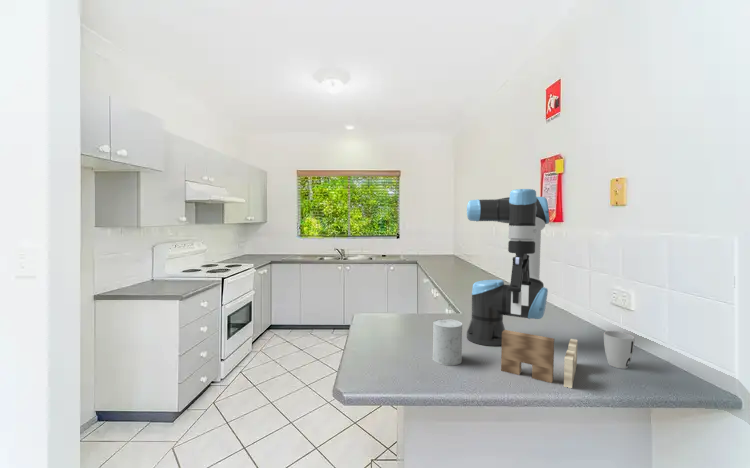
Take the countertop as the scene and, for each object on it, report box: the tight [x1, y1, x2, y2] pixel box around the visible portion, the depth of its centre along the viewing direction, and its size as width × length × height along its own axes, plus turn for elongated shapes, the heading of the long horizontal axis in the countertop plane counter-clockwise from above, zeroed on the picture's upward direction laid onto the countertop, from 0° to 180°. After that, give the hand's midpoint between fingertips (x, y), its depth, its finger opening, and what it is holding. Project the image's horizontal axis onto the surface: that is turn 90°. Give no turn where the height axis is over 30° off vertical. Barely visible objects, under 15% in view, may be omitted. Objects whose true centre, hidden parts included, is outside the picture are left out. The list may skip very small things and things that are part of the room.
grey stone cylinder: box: [432, 318, 463, 366], centre depth 113 cm, size 10×10×12 cm
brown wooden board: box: [500, 329, 555, 384], centre depth 102 cm, size 14×3×12 cm, turn 56°
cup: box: [603, 330, 636, 370], centre depth 110 cm, size 8×8×10 cm
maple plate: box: [563, 338, 578, 389], centre depth 102 cm, size 20×2×8 cm, turn 146°
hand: (520, 309), depth 104 cm, fingers open, 13 cm apart
